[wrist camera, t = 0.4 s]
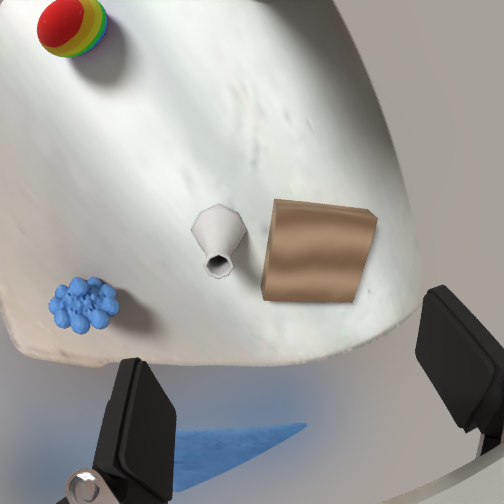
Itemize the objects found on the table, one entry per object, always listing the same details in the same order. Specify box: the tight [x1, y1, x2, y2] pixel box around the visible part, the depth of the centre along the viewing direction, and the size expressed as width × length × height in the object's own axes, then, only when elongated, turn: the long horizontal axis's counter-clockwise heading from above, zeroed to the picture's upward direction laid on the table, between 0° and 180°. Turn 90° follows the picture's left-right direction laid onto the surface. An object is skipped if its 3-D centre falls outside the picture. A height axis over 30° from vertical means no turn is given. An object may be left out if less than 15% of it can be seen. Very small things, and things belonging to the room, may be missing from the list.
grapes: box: [49, 277, 120, 334], centre depth 40 cm, size 12×7×12 cm, turn 86°
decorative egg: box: [37, 0, 107, 57], centre depth 24 cm, size 8×8×10 cm
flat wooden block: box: [261, 199, 378, 303], centre depth 45 cm, size 14×14×4 cm
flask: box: [191, 204, 247, 279], centre depth 39 cm, size 7×7×10 cm
